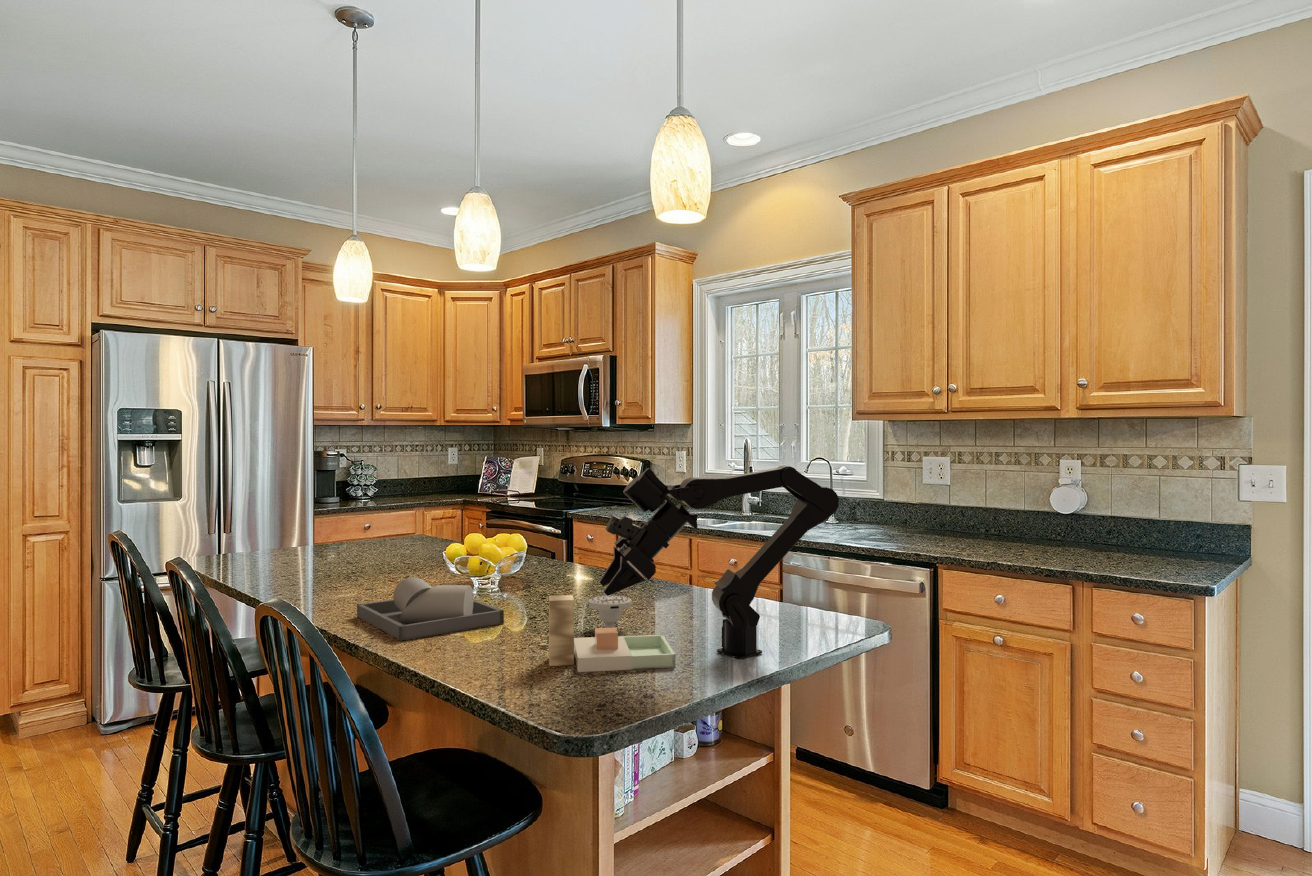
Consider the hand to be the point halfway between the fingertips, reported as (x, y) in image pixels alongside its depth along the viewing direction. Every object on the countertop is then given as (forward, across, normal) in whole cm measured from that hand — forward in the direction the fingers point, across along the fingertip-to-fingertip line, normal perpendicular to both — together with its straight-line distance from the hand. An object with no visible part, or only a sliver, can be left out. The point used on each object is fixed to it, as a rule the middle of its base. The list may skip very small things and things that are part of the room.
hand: (603, 589), depth 145 cm
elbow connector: (+35, -37, -17) cm, 54 cm away
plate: (+10, 0, +9) cm, 13 cm away
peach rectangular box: (+7, 0, +8) cm, 11 cm away
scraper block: (+15, 0, +4) cm, 16 cm away
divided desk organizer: (+35, -37, -17) cm, 54 cm away
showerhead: (+7, -24, +12) cm, 27 cm away
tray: (+4, 0, +16) cm, 16 cm away
